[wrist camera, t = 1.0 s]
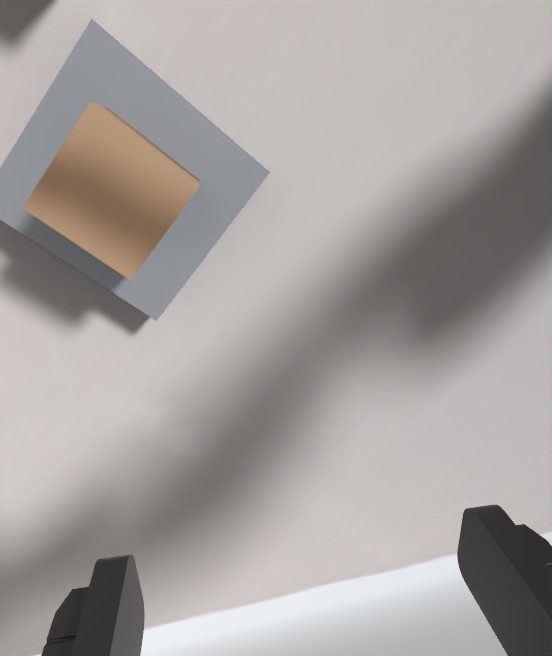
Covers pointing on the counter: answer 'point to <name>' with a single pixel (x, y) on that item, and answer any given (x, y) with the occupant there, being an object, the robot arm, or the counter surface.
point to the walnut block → (111, 190)
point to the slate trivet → (159, 127)
